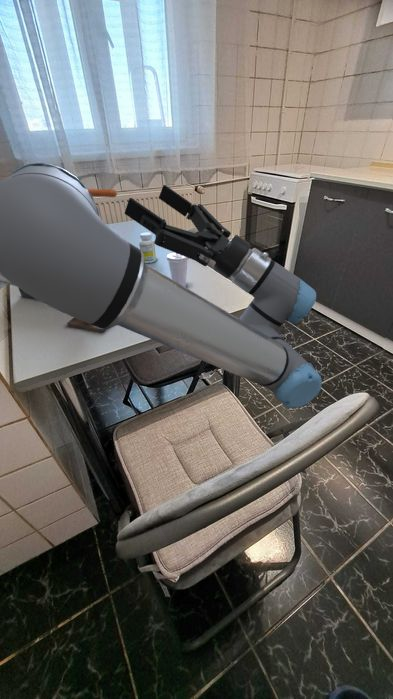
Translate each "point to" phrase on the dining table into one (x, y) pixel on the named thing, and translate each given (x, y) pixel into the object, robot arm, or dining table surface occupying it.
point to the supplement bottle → (147, 247)
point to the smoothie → (178, 267)
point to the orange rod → (102, 192)
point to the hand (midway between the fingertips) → (146, 197)
